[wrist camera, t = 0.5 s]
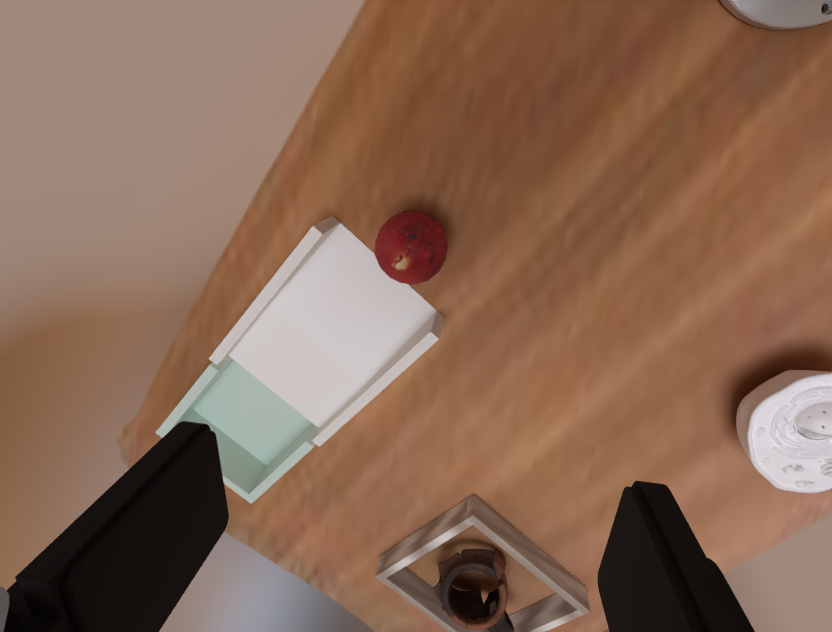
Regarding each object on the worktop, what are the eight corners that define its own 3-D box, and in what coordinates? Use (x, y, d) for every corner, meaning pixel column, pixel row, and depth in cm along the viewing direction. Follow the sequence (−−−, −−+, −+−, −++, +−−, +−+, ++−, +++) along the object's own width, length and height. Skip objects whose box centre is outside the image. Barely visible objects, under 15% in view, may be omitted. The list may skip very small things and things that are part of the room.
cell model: (712, 456, 42) (749, 511, 36) (725, 348, 38) (769, 391, 32) (834, 453, 40) (895, 512, 34) (863, 338, 36) (939, 383, 30)
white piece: (335, 213, 40) (312, 225, 35) (445, 313, 42) (439, 339, 37) (238, 334, 47) (208, 358, 42) (336, 414, 49) (319, 446, 44)
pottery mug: (418, 563, 57) (416, 598, 48) (469, 511, 57) (475, 536, 49) (485, 634, 55) (494, 682, 47) (536, 580, 56) (554, 618, 48)
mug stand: (474, 493, 49) (472, 515, 47) (585, 586, 52) (590, 611, 50) (380, 554, 56) (375, 576, 53) (484, 634, 59) (483, 658, 57)
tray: (237, 341, 46) (209, 364, 42) (330, 416, 48) (313, 447, 44) (185, 405, 51) (155, 432, 47) (271, 471, 53) (251, 503, 49)
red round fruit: (402, 192, 37) (380, 208, 30) (462, 222, 37) (454, 246, 30) (376, 250, 40) (350, 279, 32) (433, 279, 40) (419, 313, 33)
